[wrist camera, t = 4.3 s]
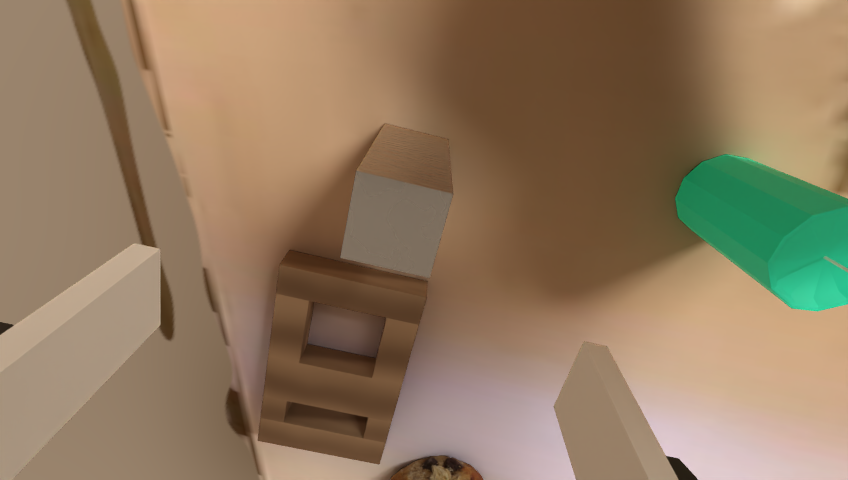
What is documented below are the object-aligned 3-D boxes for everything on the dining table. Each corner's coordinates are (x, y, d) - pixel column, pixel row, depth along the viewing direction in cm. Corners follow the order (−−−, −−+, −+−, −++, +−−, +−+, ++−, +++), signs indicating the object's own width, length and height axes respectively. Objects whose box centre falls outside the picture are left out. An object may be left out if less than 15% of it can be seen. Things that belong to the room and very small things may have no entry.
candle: (724, 246, 35) (856, 344, 24) (657, 214, 34) (762, 300, 23) (781, 175, 32) (957, 249, 21) (711, 139, 31) (857, 196, 20)
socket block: (289, 250, 36) (279, 264, 34) (427, 281, 37) (426, 297, 34) (267, 419, 43) (257, 440, 41) (382, 442, 44) (379, 464, 42)
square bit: (384, 123, 32) (356, 170, 21) (448, 139, 32) (453, 193, 21) (372, 184, 33) (339, 258, 22) (432, 199, 34) (429, 278, 23)
